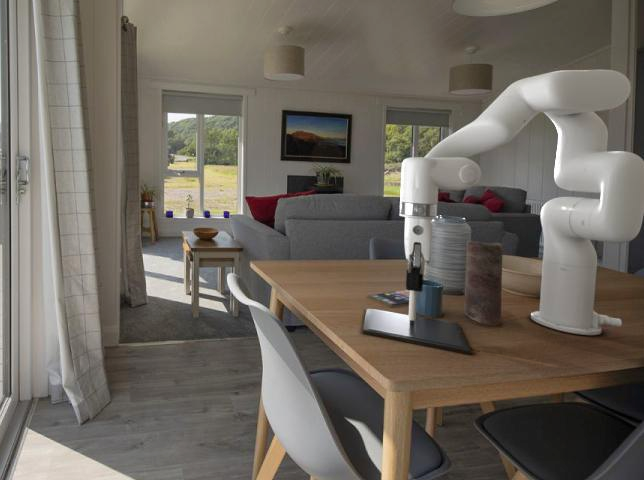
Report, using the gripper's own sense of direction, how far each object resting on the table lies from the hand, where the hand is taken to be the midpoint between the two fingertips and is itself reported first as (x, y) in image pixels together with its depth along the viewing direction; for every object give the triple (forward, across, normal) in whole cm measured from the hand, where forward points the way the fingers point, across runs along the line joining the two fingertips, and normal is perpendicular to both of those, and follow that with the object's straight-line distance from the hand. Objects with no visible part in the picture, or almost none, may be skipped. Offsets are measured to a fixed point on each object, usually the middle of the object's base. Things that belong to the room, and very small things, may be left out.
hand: (413, 288), depth 91 cm
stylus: (+9, 0, 0) cm, 9 cm away
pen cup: (+9, +13, -4) cm, 17 cm away
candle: (+10, +15, -16) cm, 24 cm away
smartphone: (+10, +22, +2) cm, 24 cm away
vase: (+10, +40, -11) cm, 42 cm away
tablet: (+9, -1, 0) cm, 9 cm away
